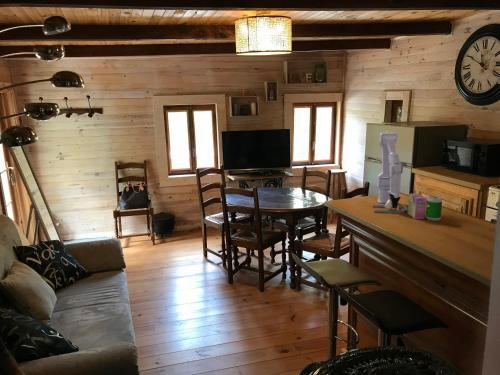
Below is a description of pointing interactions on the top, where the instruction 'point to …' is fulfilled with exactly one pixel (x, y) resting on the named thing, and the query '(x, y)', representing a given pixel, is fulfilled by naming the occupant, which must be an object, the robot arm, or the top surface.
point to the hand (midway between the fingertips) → (394, 206)
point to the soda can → (433, 208)
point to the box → (416, 206)
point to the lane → (391, 211)
